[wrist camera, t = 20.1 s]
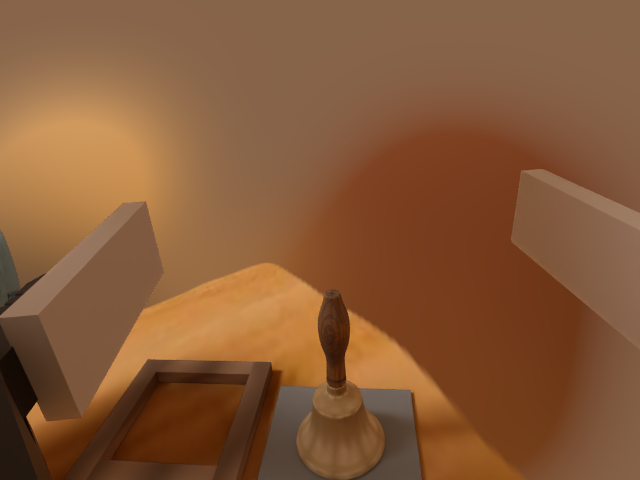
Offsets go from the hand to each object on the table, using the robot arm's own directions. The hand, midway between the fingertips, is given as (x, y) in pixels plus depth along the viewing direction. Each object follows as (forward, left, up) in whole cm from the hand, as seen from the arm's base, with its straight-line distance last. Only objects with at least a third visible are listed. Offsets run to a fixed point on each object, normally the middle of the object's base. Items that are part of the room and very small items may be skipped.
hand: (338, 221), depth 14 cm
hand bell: (-2, +13, -28) cm, 31 cm away
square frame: (-18, +15, -28) cm, 36 cm away
